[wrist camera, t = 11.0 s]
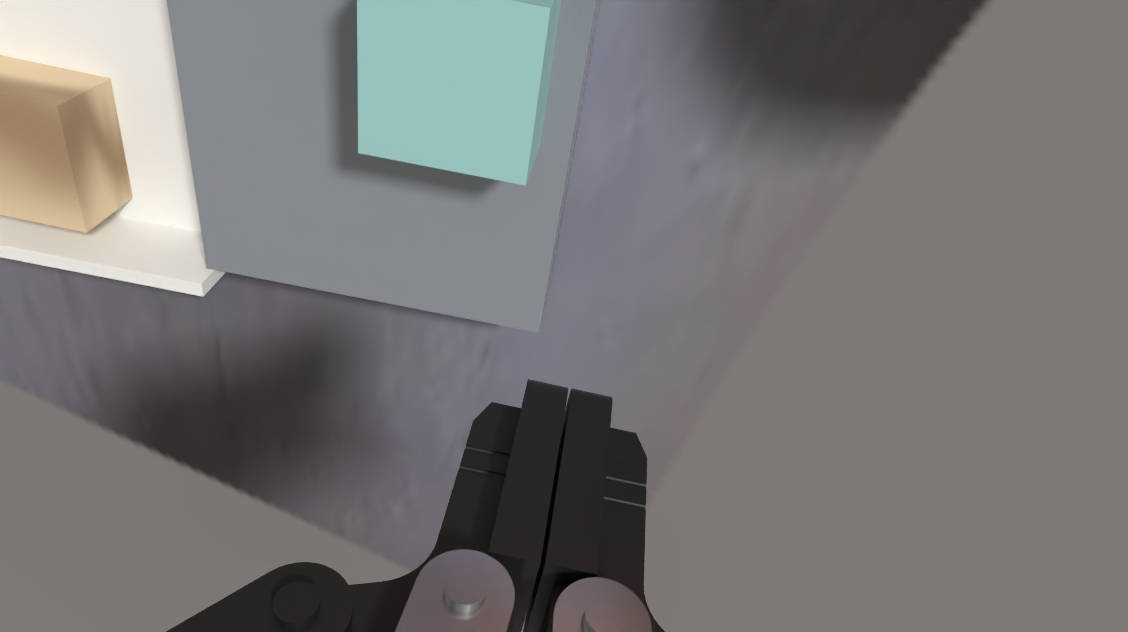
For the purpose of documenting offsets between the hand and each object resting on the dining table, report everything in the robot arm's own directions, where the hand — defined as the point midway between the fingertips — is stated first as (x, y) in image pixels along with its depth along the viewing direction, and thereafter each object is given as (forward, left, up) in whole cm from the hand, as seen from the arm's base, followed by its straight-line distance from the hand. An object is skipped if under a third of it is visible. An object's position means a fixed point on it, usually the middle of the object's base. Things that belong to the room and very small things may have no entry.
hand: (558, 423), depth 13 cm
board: (+2, -8, -17) cm, 18 cm away
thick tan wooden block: (+5, -21, -13) cm, 25 cm away
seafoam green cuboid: (-2, -5, -13) cm, 14 cm away
